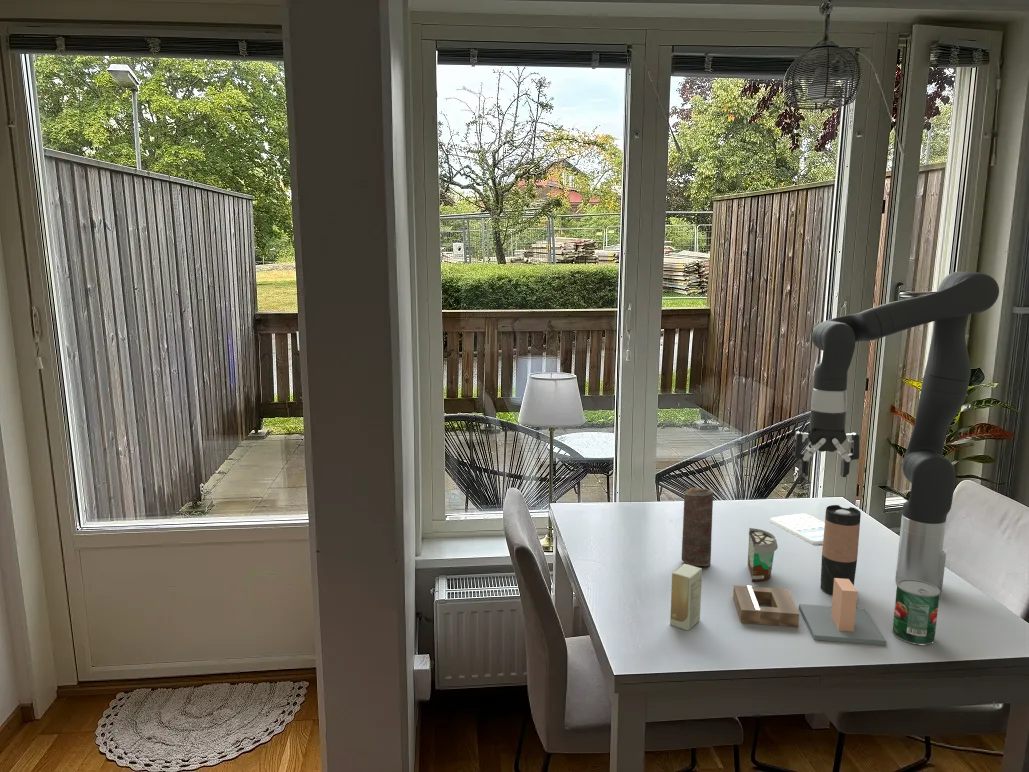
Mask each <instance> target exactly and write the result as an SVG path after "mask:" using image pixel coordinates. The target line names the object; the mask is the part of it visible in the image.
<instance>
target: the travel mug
mask: <svg viewBox="0 0 1029 772" xmlns="http://www.w3.org/2000/svg"><path fill="white" fill-rule="evenodd" d="M861 513H862V512H861V511H860V510H859V509H857V508H855V507H853V506H852V507H851V506H850V507H842V506H840V505H839V504H831V505H828V506H826V509H825V518H824V523H825V526H824V537H823V544H822V551H821V567H820V569H821V570H820V589H821V591H822V592H824V593H825V594H828V595H830V596H833V586H834V578H841V579H849V580H850V581H851V583H852V584H853V586H854V587H855V579H856V571H857V564H858V563H857V562H858V556H859V555H858V554H859V542H860V541H859V539H860V529H861V528H860V527H861V517H862V515H861Z"/></svg>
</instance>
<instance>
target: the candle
mask: <svg viewBox="0 0 1029 772" xmlns="http://www.w3.org/2000/svg"><path fill="white" fill-rule="evenodd" d="M713 504H714V491H713V490H712V489H709V488H700V487H691V488H689V489H686V491H685V492H684V498H683V516H682V517H683V518H682V519H683V520H682V536H681V539H682V541H681V561H682V562H684V563H685V564H688V565H691V566H695V567H708V566H711V563H712V562H711V560H712V536H713V535H712V534H713V533H712V532H713V530H712V528H713V506H714V505H713Z"/></svg>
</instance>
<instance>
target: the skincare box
mask: <svg viewBox="0 0 1029 772" xmlns="http://www.w3.org/2000/svg"><path fill="white" fill-rule="evenodd" d="M702 577H703V568H702V567H699V566H696V565H690V564H688V563H683V564H682V565H680V566H679V567H678V568H676V569H675V570H673V571H672V573H671V592H670V593H671V594H670V595H671V597H670V598H671V599H670V622H669V623H670V624H669V625H670V626H673V627H676V628H679V629H682V630H685V631H689V630H691V629H692V628H693V627H694V626H695V625H696V624H697V623H698V622H700V621H701V602H702V599H701V598H702V581H703V579H702Z"/></svg>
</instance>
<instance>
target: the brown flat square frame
mask: <svg viewBox="0 0 1029 772" xmlns="http://www.w3.org/2000/svg"><path fill="white" fill-rule="evenodd" d="M732 591H733V592H732V598H733V601H734V605H735V608H736V611H737V615H738V618H739V621H740V623H741V624H743V623H744V624H753V625H754V624H755V625H768V626H770V625H771V626H780V627H781V626H782V627H793V628H799V626H800V613H799V612H800V611H799V609H797V606H796V604H795V602H794V600H793V598H792V595H791V593H790V591H789V589H788V588H777V587H776V588H774V587H760V586H759V587H758V586H752V585H751V584H749V585H745V586H744V585H733V590H732ZM759 604H760V605H761V606H759ZM762 605H769V606H762Z"/></svg>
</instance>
